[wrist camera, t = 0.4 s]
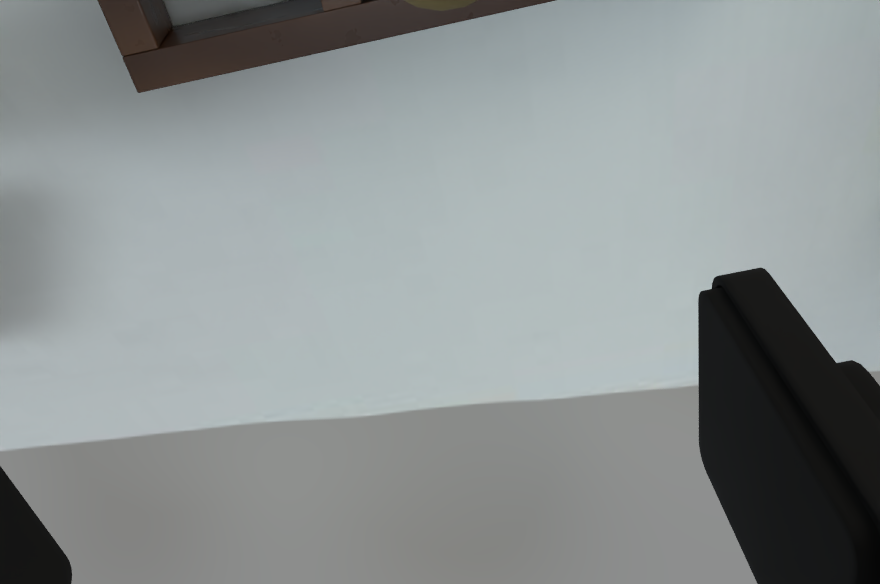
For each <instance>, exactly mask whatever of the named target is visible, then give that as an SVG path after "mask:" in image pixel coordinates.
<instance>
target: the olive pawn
mask: <svg viewBox="0 0 880 584" xmlns="http://www.w3.org/2000/svg"><path fill="white" fill-rule="evenodd" d="M404 1H406V2H408V3H410V4H412V5H414V6H416V7H418V8H425V9H431V10H438V11H445V10H450V9H456V8H462V7H466V6H468V5H470V4H472V3H473V2H475V1H477V0H404Z"/></svg>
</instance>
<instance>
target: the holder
mask: <svg viewBox="0 0 880 584" xmlns="http://www.w3.org/2000/svg"><path fill="white" fill-rule="evenodd" d="M551 1H555V0H477V1H475V2H473V3H472V4H470V5H468V6H466V7H462V8H456V9H450V10H445V11H438V10H431V9H425V8H418V7H416V6H414V5H412V4H410V3H408V2H406V1H404V0H291V1H286V2H282V3H278V4H273V5H269V6H264V7H260V8H255V9H251V10H247V11H242V12H238V13H233V14H229V15H225V16H220V17H216V18H211V19H207V20H202V21H198V22H194V23H189V24H185V25H180V26H176V27H172V24H171V21H170V18H169V16H168V13H167V11H166V8H165V6H164V3H163V1H162V0H98V2H99V5H100V7H101V9H102V11H103V14H104V16H105V18H106V20H107V23H108V25H109V27H110V30H111V32H112V34H113V36H114V39H115V41H116V43H117V45H118V48H119V50H120V52H121V54H122V56H123V60H124V62H125V64H126V67H127V69H128V71H129V74H130V76H131V78H132V80H133V83H134V85H135V87H136V89H137V92H138V93H141V92H145V91H150V90H154V89H159V88H163V87H168V86H172V85H177V84H181V83H186V82H190V81H195V80H199V79H204V78H208V77H213V76H217V75H222V74H226V73H231V72H235V71H240V70H244V69H249V68H253V67H258V66H262V65H267V64H271V63H276V62H280V61H285V60H289V59H294V58H298V57H303V56H307V55H312V54H316V53H321V52H325V51H330V50H334V49H339V48H343V47H348V46H352V45H357V44H361V43H366V42H370V41H375V40H379V39H384V38H388V37H393V36H397V35H402V34H406V33H411V32H415V31H420V30H424V29H429V28H433V27H438V26H442V25H447V24H451V23H456V22H460V21H465V20H469V19H474V18H478V17H483V16H487V15H492V14H496V13H501V12H505V11H510V10H514V9H519V8H523V7H528V6H533V5H537V4H542V3H546V2H551Z"/></svg>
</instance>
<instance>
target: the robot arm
mask: <svg viewBox="0 0 880 584" xmlns="http://www.w3.org/2000/svg"><path fill="white" fill-rule="evenodd" d="M698 306H699V447H700V453H701V457H702V461H703V464H704V467H705V470H706V472H707V474H708V476H709V479H710V481H711V483H712V485H713V487H714V489H715V492H716V494H717V496H718V498H719V500H720V503H721V505H722V507H723V509H724V511H725V514H726V516H727V518H728V520H729V522H730V525H731V527H732V529H733V531H734V533H735V535H736V538H737V540H738V542H739V544H740V546H741V549H742V551H743V553H744V555H745V557H746V559H747V561H748V564H749V566H750V568H751V570H752V573H753V575H754V577H755V579H756V581H757V583H758V584H880V386H879V384H878V383H877V382H876V381H875V379H874V378H873V377H872V376H871V374H870V373H869V372H868V371H867V370H866V369H865V368H864V367H863V366H862V365H861V364H859V363H857V362H855V361H853V360H851V361H846V362H841V363H836V362H835V361H834V359H833V358H832V357H831V355H830V354H829V353H828V351H827V350H826V349H825V347H824V346H823V345H822V343H821V342H820V341H819V339H818V338H817V337H816V335H815V334H814V333H813V331H812V330H811V329H810V327H809V326H808V325H807V323H806V322H805V321H804V319H803V318H802V317H801V315H800V314H799V313H798V311H797V310H796V309H795V307H794V306H793V305H792V303H791V302H790V301H789V299H788V298H787V297H786V295H785V294H784V293H783V291H782V290H781V289H780V287H779V286H778V285H777V283H776V282H775V281H774V279H773V278H772V277H771V275H770V274H769V273H768V272H767V271H766V270H765V269H763V268H757V269H752V270H746V271H741V272H736V273H731V274H726V275H721V276H717V277H715V278H714V280H713V283H712V289H710V290H705V291H701V292H700V294H699V302H698ZM71 580H72V570H71V565H70V562H69V560H68V558H67V557H66V555H65V554H64V552H63V551H62V550H61V548H60V547H59V545H58V544H57V543H56V541H55V540H54V539H53V537H52V536H51V535H50V533H49V532H48V531H47V529H46V528H45V526H44V525H43V524H42V522H41V521H40V520H39V518H38V517H37V516H36V514H35V513H34V511H33V510H32V509H31V507H30V506H29V505H28V503H27V502H26V501H25V499H24V498H23V497H22V495H21V494H20V492H19V491H18V490H17V488H16V487H15V486H14V484H13V483H12V482H11V480H10V479H9V478H8V476H7V475H6V473H5V472H4V471H3V469H2V468H1V467H0V584H71Z"/></svg>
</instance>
